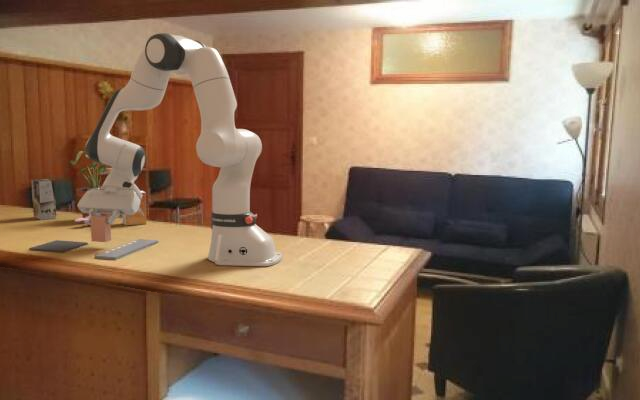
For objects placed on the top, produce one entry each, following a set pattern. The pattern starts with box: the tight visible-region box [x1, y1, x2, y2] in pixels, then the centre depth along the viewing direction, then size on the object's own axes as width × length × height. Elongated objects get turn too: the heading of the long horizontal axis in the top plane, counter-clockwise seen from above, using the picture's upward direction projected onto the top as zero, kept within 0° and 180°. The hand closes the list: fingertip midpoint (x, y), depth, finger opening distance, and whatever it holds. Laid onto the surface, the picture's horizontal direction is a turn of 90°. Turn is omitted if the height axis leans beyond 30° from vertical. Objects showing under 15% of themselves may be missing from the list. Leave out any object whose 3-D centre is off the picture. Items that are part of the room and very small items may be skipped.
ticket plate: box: [94, 238, 159, 261], centre depth 164 cm, size 7×24×1 cm, turn 168°
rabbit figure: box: [74, 213, 100, 227], centre depth 202 cm, size 6×6×15 cm
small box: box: [122, 190, 147, 226], centre depth 206 cm, size 8×6×13 cm
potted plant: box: [69, 149, 111, 218], centre depth 211 cm, size 16×15×35 cm
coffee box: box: [30, 178, 57, 221], centre depth 215 cm, size 9×6×16 cm
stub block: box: [90, 215, 112, 243], centre depth 165 cm, size 5×3×8 cm, turn 77°
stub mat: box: [28, 239, 89, 254], centre depth 166 cm, size 12×12×1 cm
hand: (99, 223), depth 164 cm, fingers closed on stub block, 5 cm apart
